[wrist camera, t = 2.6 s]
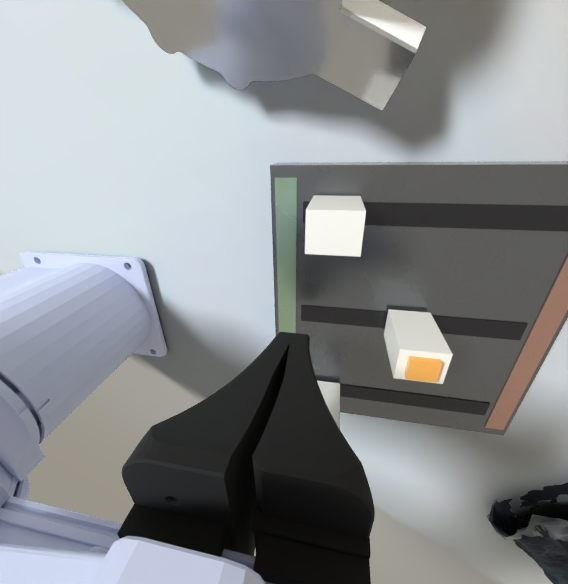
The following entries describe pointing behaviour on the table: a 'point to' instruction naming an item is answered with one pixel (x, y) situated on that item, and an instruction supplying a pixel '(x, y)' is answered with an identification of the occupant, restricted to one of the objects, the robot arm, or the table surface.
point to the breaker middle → (416, 347)
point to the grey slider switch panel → (429, 281)
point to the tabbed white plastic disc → (290, 40)
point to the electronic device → (537, 532)
